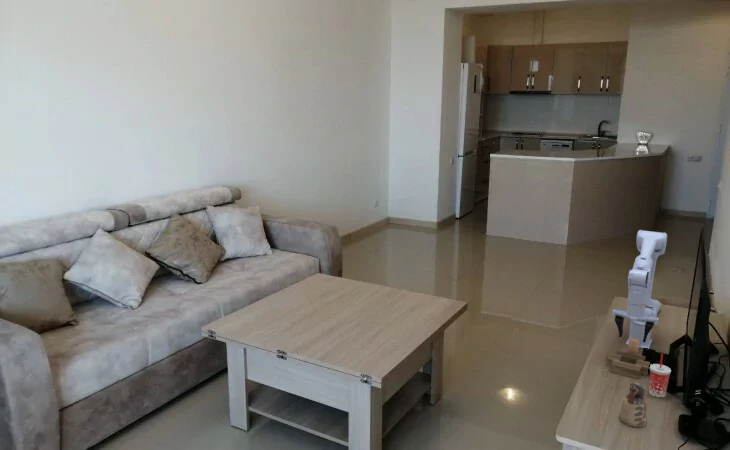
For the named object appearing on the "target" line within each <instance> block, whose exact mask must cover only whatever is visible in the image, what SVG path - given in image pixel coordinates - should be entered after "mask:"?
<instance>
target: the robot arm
mask: <svg viewBox="0 0 730 450" xmlns="http://www.w3.org/2000/svg"><path fill="white" fill-rule="evenodd" d="M635 240H636V242H635V244H636V248H637V251H638V252H640V254H639V255H638V256H636V258H635V260H634V262H633V266H632V269H629V271H628V277H627V284H628V286H627V290H628V294H627V303H626V310H620V309H612V312H611V316H612V317H614V322H615V325H616V326H617V327H616V328H617V329H618V334H619V335H618V336H619V338H622V337H623V334H624V333H623V332H624V322H625V319H627V320H629V322H630V324H629V334H628V338H627V340H626V342H625V345H626V346H628V343H629V339H630V338H635V339H638V340H639V341H640V342H639V349H644V348H648V349H647V350H649V349H650V347H651V345H652V342H653V339H652V338H651V333H652V329H653V327H654V326H655V325H656V326H657V325H658V324H659V317H658V313H657V307H658V305H657V303H656V302H655V301H654V300H655V299H652V291H653V284H654V277H655V274H656V273H655V271H656V267H657V266H656V265H657V260H658V259H659V258H658V257H659V256H662V255H665V252H666V248H667V247H666V246H667V242H668V234H667V233H666V232H660V231H659V232H658V231H652V230H651V231H649V230H643V229H639V230H638V231H637V233H636V239H635ZM648 305H650V306H652V307H648ZM650 338H651V339H650Z"/></svg>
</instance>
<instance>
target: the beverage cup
mask: <svg viewBox="0 0 730 450" xmlns="http://www.w3.org/2000/svg"><path fill="white" fill-rule="evenodd" d="M663 358H664V353H663V352H662V353H661V354H660V360H659V361H660V362H659V363H653V364H652V363H651V364H650V367H649V388H648V389H649V390H648V392H649V395H650V396H652V395H653V396H652V397H655V396H656V397H655V398H659V397H663V398H665V397H666V394H667V389H668V384H669V379H670V376H671V375H670V374H671V372H672V370H671V368H670V367H669V366H667V365H664V364H663ZM664 396H665V397H664Z"/></svg>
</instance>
